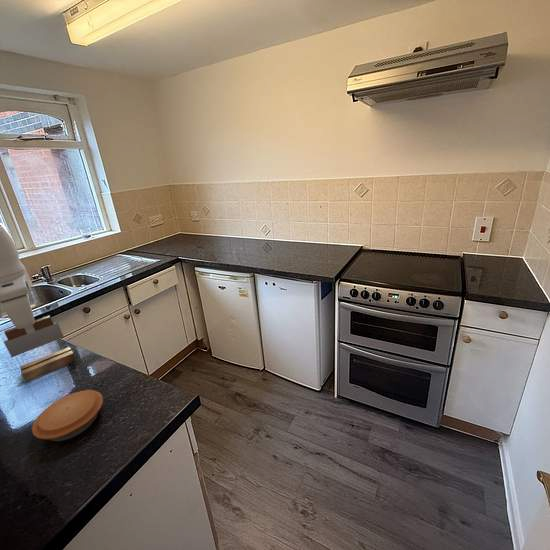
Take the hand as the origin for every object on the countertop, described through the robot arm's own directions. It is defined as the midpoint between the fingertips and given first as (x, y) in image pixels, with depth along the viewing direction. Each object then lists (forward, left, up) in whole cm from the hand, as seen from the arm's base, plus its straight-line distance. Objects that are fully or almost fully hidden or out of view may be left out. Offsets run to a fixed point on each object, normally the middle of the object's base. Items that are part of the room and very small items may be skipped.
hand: (30, 330), depth 81 cm
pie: (+7, -15, -22) cm, 28 cm away
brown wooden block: (0, 0, -5) cm, 5 cm away
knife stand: (-5, +15, -22) cm, 27 cm away
